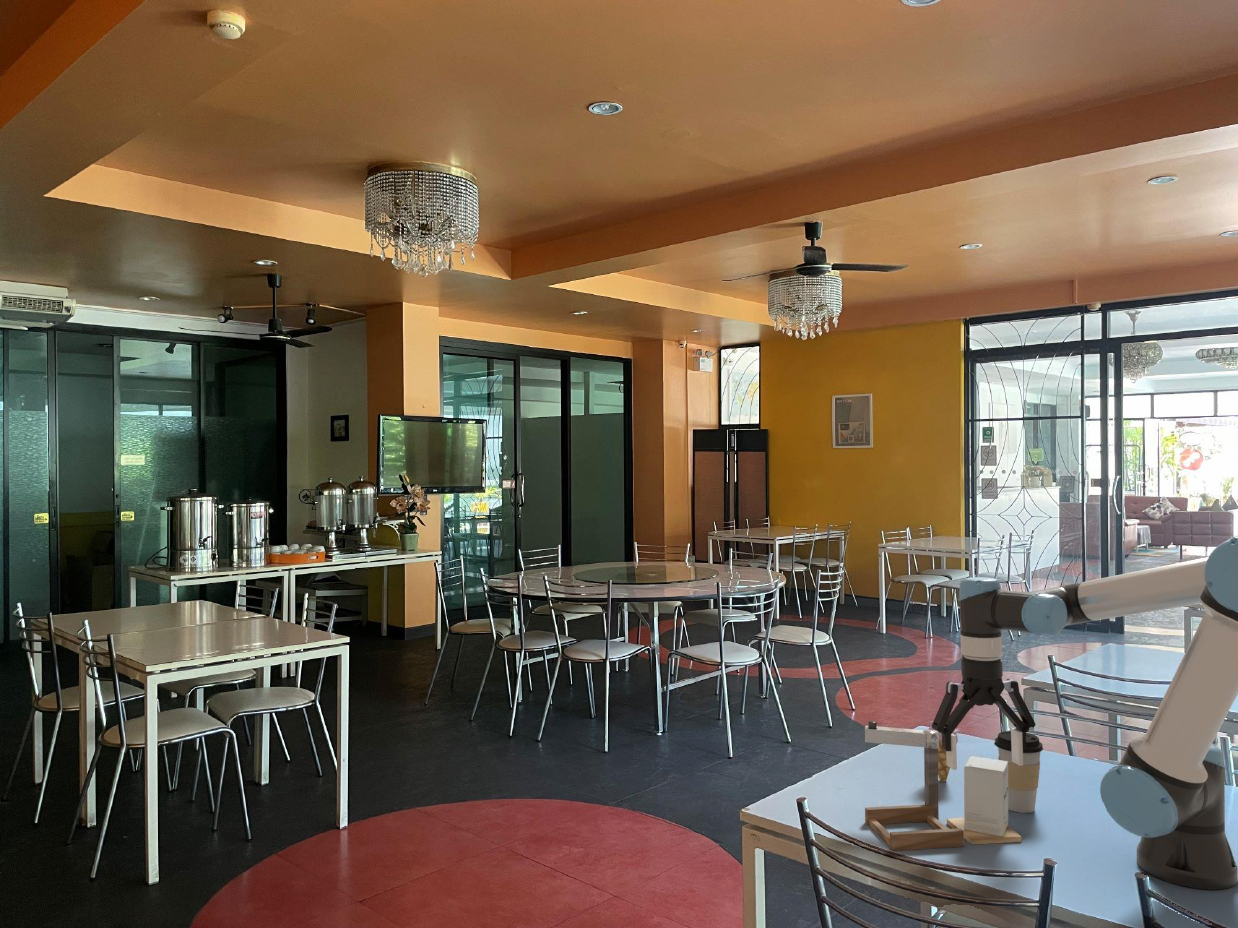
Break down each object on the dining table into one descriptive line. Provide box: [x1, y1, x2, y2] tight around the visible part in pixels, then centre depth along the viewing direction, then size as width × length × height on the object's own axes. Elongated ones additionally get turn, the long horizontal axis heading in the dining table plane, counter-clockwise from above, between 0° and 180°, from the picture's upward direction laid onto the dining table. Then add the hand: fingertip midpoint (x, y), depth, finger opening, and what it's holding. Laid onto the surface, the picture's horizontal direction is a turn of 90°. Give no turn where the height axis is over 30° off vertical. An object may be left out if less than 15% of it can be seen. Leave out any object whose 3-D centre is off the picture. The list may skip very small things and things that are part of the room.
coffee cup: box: [993, 730, 1044, 814], centre depth 187 cm, size 9×9×15 cm
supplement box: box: [963, 755, 1009, 837], centre depth 174 cm, size 7×7×13 cm
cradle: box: [864, 747, 965, 852], centre depth 175 cm, size 15×16×14 cm
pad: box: [946, 817, 1022, 845], centre depth 174 cm, size 10×10×1 cm
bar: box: [864, 720, 939, 749], centre depth 184 cm, size 14×3×4 cm, turn 72°
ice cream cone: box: [927, 720, 961, 783], centre depth 203 cm, size 7×6×15 cm
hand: (984, 765), depth 174 cm, fingers open, 13 cm apart
